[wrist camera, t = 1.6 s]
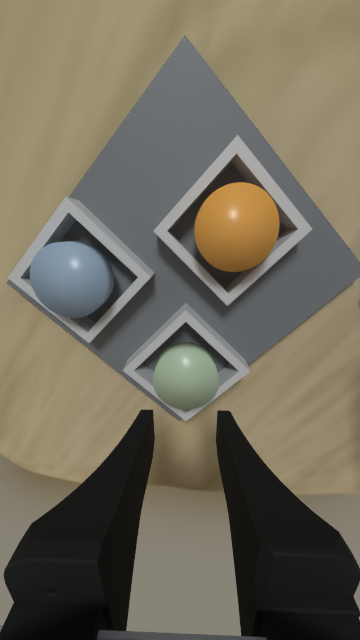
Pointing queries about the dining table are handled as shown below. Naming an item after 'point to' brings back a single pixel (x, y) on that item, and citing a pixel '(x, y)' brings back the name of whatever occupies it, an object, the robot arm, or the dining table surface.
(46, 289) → the button blue
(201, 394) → the button sage
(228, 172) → the control board
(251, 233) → the button orange
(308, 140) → the dining table surface
